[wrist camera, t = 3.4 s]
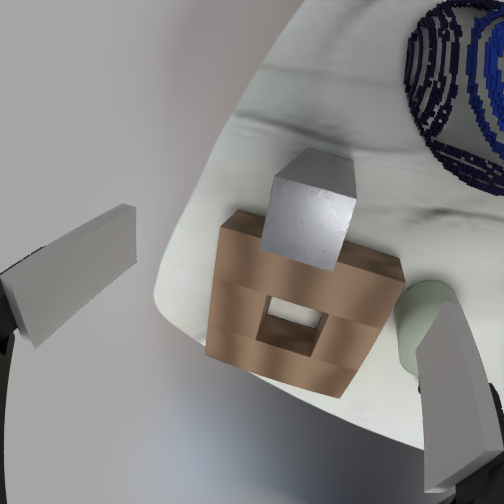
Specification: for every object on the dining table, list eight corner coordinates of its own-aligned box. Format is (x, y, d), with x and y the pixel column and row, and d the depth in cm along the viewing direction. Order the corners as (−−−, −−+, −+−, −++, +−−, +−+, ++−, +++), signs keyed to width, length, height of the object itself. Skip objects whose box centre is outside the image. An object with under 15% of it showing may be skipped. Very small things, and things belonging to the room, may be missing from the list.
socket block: (399, 258, 30) (405, 283, 25) (343, 370, 38) (339, 398, 34) (238, 210, 33) (220, 226, 29) (219, 331, 42) (204, 354, 37)
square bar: (353, 160, 27) (356, 199, 15) (341, 203, 29) (332, 272, 17) (308, 147, 28) (274, 175, 16) (298, 191, 30) (259, 249, 18)
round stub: (468, 290, 28) (485, 328, 22) (437, 341, 32) (445, 382, 26) (411, 271, 30) (422, 309, 24) (384, 326, 34) (385, 368, 28)
